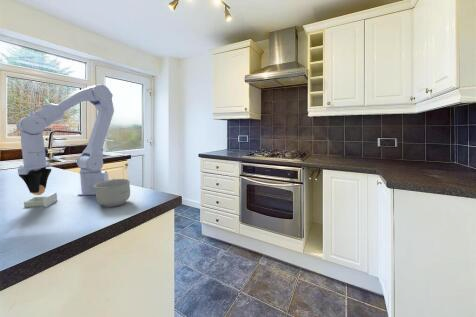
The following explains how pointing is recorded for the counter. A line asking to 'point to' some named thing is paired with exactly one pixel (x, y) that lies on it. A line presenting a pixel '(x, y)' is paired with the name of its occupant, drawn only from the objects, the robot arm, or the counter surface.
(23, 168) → the robot arm
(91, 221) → the counter surface
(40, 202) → the tray
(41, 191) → the ball
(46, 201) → the wall
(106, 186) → the teacup
